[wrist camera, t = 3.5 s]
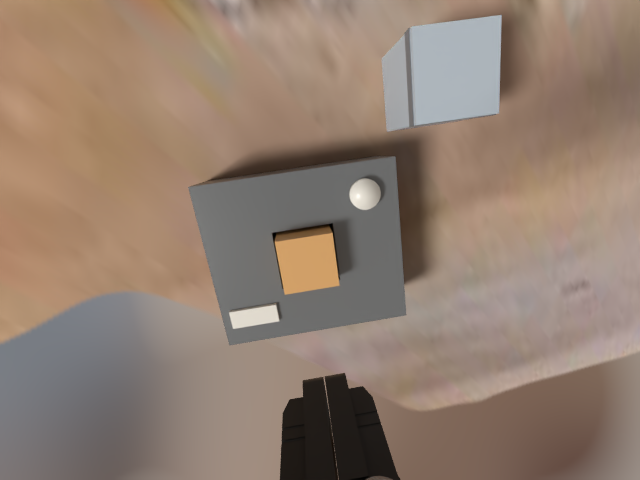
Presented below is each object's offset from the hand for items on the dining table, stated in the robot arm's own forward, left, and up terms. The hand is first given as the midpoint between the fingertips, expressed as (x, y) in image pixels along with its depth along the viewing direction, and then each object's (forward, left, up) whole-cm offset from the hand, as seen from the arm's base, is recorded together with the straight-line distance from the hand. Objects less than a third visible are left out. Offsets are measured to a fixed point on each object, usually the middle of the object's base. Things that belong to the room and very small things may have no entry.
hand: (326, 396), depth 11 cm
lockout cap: (+12, +12, -20) cm, 26 cm away
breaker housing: (0, 0, -20) cm, 20 cm away
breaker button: (0, 0, -18) cm, 18 cm away
